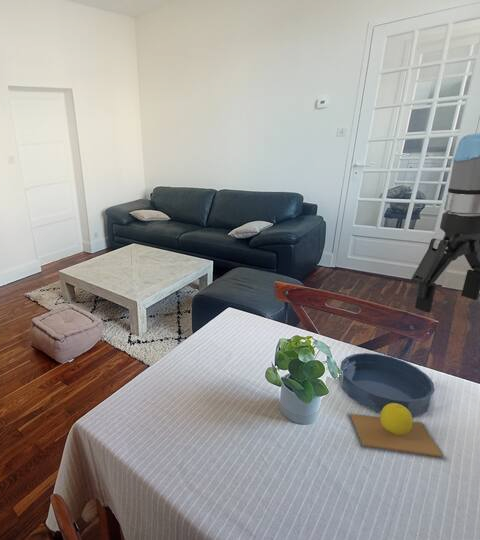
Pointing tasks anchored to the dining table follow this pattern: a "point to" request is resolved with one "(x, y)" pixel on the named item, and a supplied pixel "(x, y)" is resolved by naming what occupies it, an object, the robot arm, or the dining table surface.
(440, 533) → the dining table surface
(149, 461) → the dining table surface
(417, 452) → the cork mat
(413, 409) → the bowl
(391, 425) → the lemon
